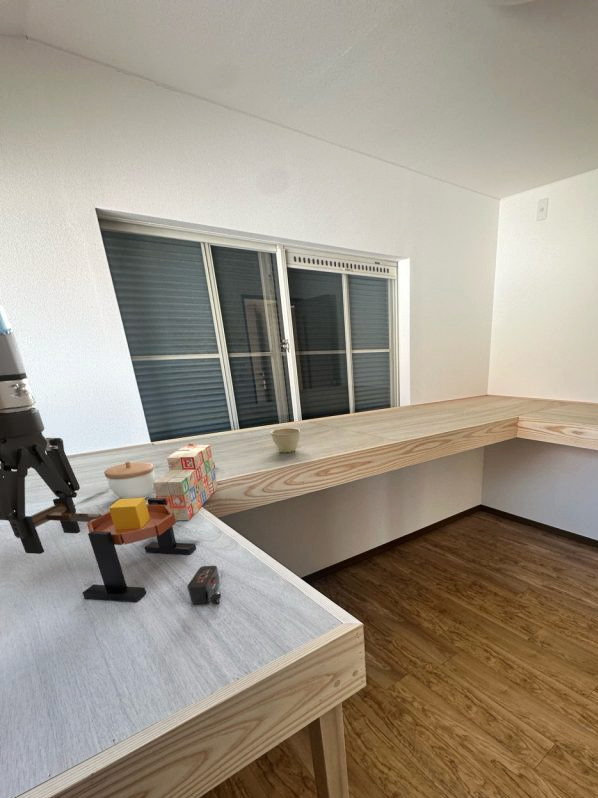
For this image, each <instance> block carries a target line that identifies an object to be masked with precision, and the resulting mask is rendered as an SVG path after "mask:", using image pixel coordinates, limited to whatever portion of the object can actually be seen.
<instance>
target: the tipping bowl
mask: <svg viewBox="0 0 598 798" xmlns="http://www.w3.org/2000/svg"><path fill="white" fill-rule="evenodd" d="M146 505H147V508H148V512H149V516H150V520H149V521H148V522H147V523H146V524H145V525H144V526H143V527H142V528H141V529H128V530H115V527H114V524H113V521H112V517H111V514H110V510H109V511H106V512H104V513H102V514H101V513H82V512H81V513H78V512H76V513H66V512H67V507H66V506H65V505H64V504H62V503H58V504H56V505H54V504H53V505H51V506H49V507H47V508H45V509H43V510H40V511H38V512H36V513H34V514H32V515H30V516H31V517H32V520H33V523H34V525H35V528H36V529H37V528H38V527H40V526H42V525H44V524H47V523H48V522H50V521H55V522H56V521H58V522H60V521H77V522H78V523H79V522H82V523H86V525H87V529H88V533H90V532H92V531H103V532H111V535H112V538H113V542H114V545H115V546H122V545H129V544H132V543H137V542H141V541H144V540H149V539H152V538H157V537H156V536H157V535H161V534H162V533H163V532H165V531H166V530H167V529H169V528H170V527H173V526H174V525H176V524H177V520H176V519H175V514H174V512H173V511H172V510H171V509H170V508H169V506H168V505H167V506H166V505H159V504H158V503H156V502H153V503H152V504H148V503H146Z"/></svg>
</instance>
